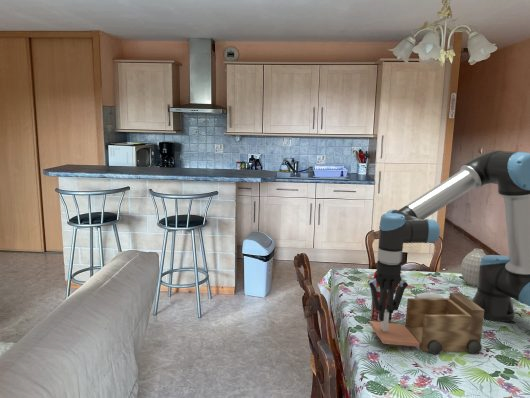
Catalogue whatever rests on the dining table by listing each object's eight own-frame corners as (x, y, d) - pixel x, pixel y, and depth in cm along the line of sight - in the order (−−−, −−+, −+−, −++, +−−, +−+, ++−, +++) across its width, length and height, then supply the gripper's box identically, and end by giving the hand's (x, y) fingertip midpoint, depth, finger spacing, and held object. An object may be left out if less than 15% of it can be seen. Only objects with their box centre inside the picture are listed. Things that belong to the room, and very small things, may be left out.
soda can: (390, 324, 150) (392, 293, 148) (370, 322, 152) (373, 291, 150) (388, 316, 157) (391, 286, 155) (370, 314, 158) (372, 284, 156)
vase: (455, 278, 201) (459, 244, 198) (483, 280, 200) (487, 246, 197) (464, 288, 189) (468, 252, 186) (494, 290, 187) (499, 254, 184)
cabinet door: (403, 324, 145) (370, 321, 144) (419, 343, 132) (383, 339, 131) (402, 328, 145) (369, 325, 144) (418, 347, 133) (382, 344, 132)
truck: (454, 328, 149) (458, 291, 147) (482, 353, 132) (487, 312, 130) (402, 328, 148) (406, 291, 146) (424, 354, 131) (428, 312, 128)
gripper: (404, 257, 138) (398, 324, 142) (365, 257, 137) (361, 324, 141) (413, 265, 131) (407, 334, 135) (373, 265, 130) (368, 335, 134)
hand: (384, 329), depth 138 cm, fingers closed
